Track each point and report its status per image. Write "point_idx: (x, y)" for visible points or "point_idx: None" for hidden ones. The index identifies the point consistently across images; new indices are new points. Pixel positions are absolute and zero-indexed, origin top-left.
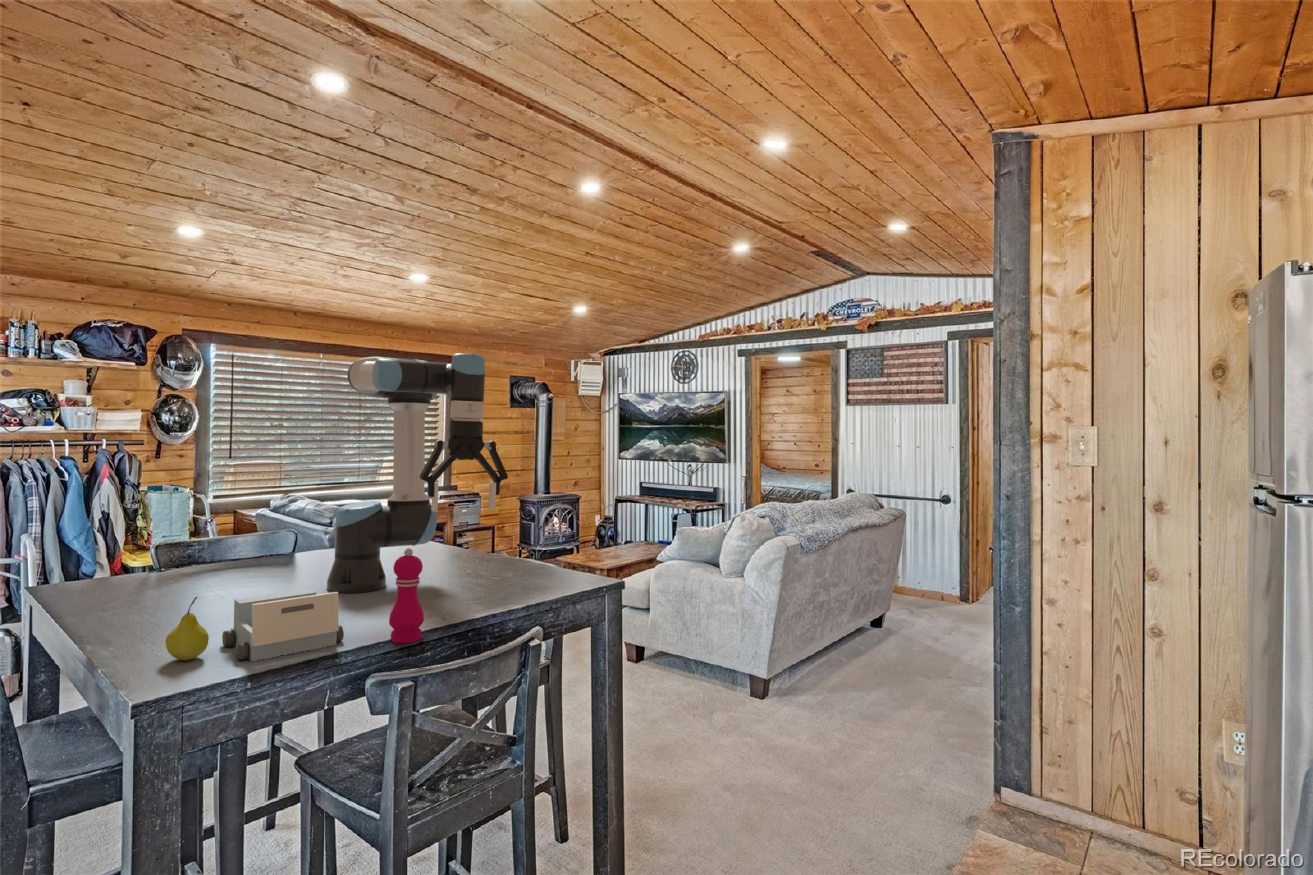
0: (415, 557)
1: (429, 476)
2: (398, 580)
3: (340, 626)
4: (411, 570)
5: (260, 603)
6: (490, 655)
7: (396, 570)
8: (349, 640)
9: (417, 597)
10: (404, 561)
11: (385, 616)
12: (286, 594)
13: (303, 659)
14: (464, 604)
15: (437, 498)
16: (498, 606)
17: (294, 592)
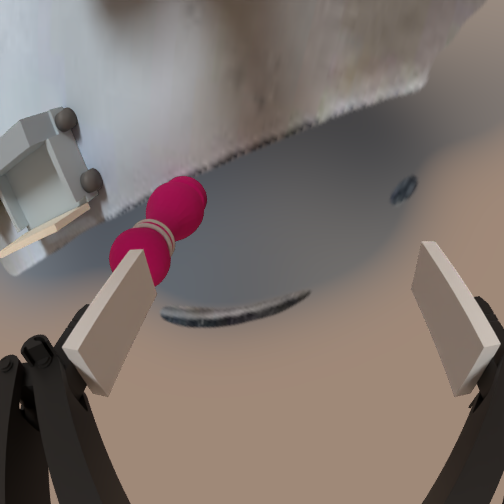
0: None
1: (34, 378)
2: None
3: (89, 185)
4: None
5: (3, 253)
6: (286, 298)
7: None
8: (111, 177)
9: (180, 231)
10: None
11: (159, 61)
12: (3, 152)
13: (77, 232)
14: (321, 23)
15: (133, 335)
16: (383, 65)
17: (8, 142)
